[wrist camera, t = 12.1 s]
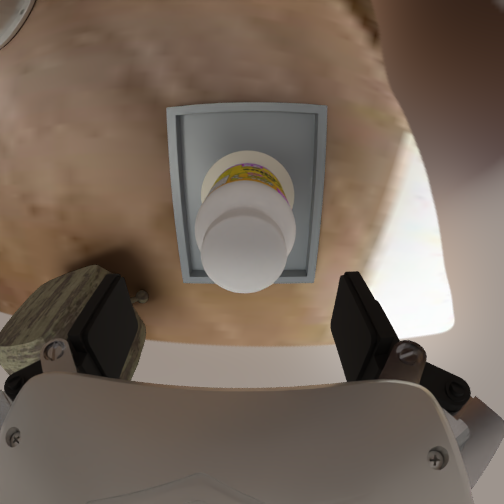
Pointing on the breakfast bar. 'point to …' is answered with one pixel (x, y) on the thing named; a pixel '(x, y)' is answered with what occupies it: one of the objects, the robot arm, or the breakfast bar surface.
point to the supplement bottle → (245, 229)
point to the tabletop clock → (58, 319)
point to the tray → (249, 151)
